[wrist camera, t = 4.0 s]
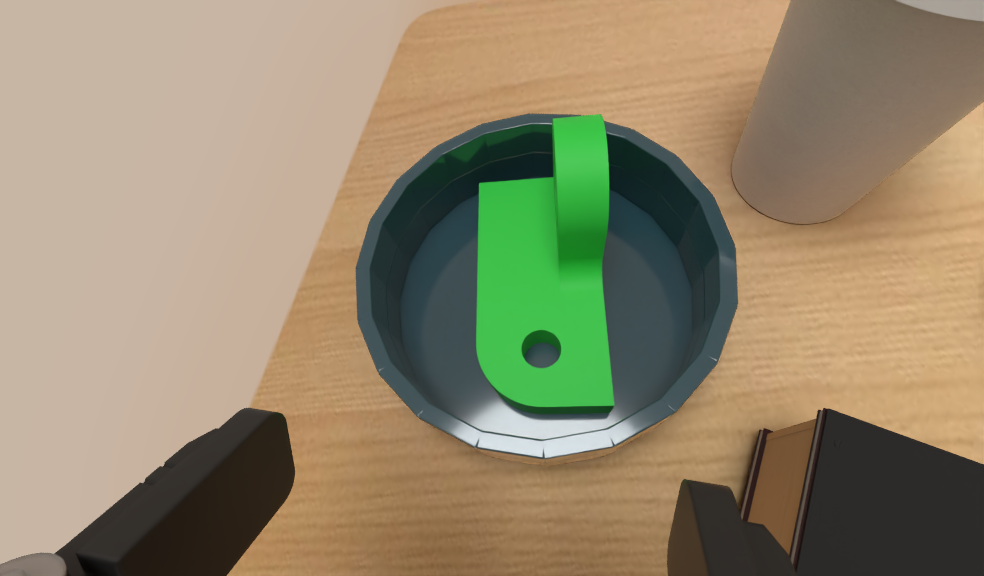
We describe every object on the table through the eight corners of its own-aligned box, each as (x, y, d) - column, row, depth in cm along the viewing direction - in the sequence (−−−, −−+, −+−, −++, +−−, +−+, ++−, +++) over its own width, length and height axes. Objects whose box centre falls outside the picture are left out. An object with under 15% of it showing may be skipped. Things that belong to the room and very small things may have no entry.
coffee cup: (825, 88, 28) (1072, -292, 15) (933, 216, 24) (1412, -143, 11) (673, 138, 28) (778, -195, 15) (756, 274, 24) (1007, -10, 11)
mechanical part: (484, 203, 27) (457, 98, 20) (589, 196, 27) (600, 84, 19) (481, 415, 23) (444, 376, 15) (609, 413, 22) (634, 372, 15)
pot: (357, 436, 24) (309, 422, 19) (426, 168, 30) (402, 109, 25) (705, 492, 21) (746, 491, 16) (701, 181, 27) (730, 117, 22)
